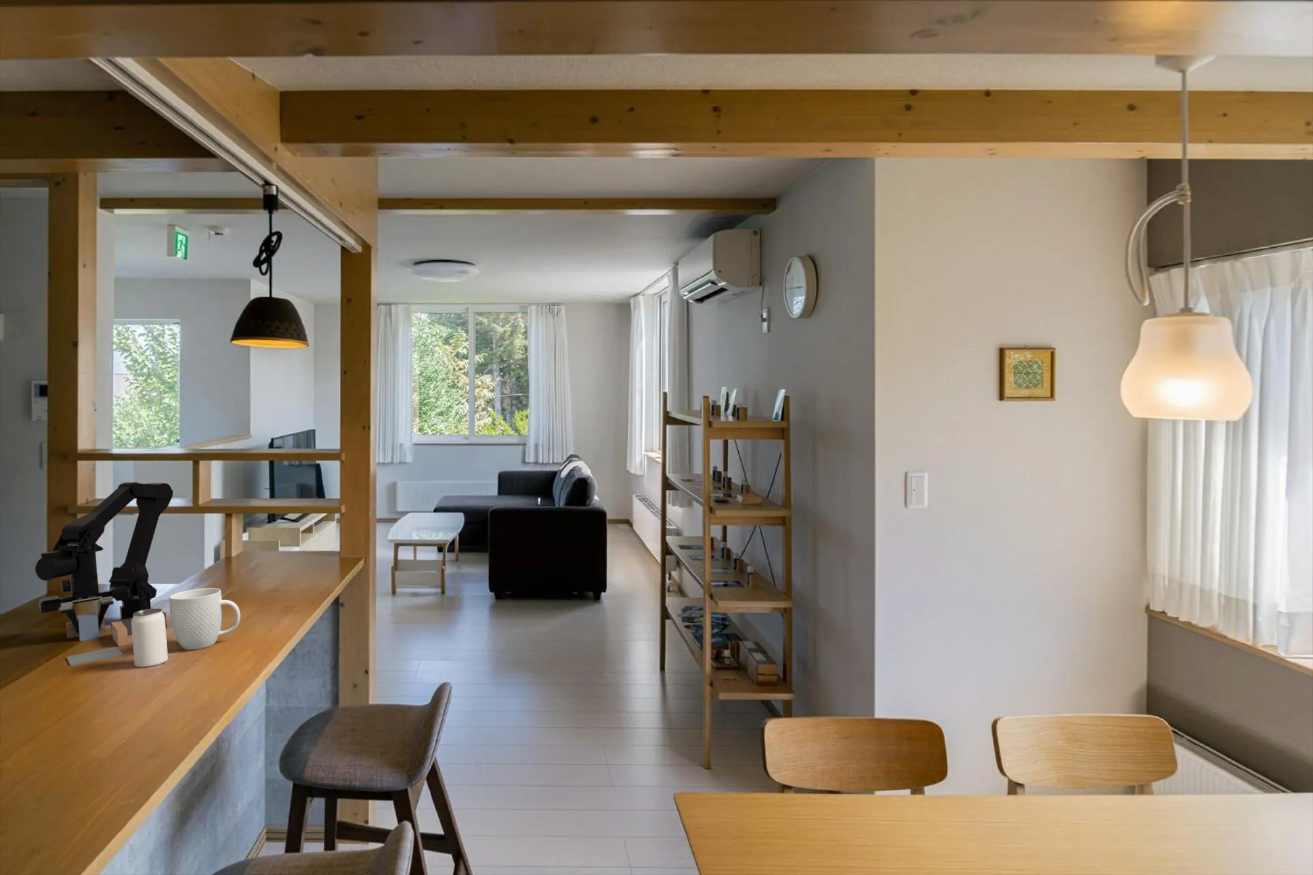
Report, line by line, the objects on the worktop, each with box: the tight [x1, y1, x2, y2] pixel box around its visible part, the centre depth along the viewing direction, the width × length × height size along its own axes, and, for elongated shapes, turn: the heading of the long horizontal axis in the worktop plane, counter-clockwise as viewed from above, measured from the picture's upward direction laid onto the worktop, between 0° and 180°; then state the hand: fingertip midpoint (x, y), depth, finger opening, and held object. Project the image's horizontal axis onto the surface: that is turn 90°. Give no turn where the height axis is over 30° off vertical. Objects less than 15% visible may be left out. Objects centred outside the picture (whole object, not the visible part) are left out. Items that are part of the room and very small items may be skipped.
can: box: [131, 608, 169, 669], centre depth 182 cm, size 6×6×12 cm
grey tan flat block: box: [110, 611, 168, 647], centre depth 204 cm, size 12×12×4 cm
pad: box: [66, 646, 123, 667], centre depth 188 cm, size 10×8×1 cm
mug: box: [168, 587, 241, 651], centre depth 194 cm, size 15×11×13 cm
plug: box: [76, 612, 100, 642], centre depth 204 cm, size 4×4×6 cm
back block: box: [65, 617, 107, 640], centre depth 208 cm, size 8×2×4 cm, turn 131°
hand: (88, 631), depth 204 cm, fingers closed on plug, 4 cm apart
